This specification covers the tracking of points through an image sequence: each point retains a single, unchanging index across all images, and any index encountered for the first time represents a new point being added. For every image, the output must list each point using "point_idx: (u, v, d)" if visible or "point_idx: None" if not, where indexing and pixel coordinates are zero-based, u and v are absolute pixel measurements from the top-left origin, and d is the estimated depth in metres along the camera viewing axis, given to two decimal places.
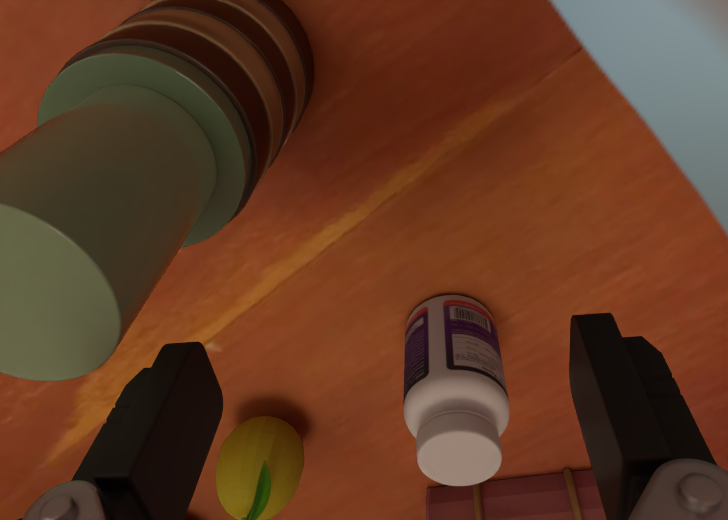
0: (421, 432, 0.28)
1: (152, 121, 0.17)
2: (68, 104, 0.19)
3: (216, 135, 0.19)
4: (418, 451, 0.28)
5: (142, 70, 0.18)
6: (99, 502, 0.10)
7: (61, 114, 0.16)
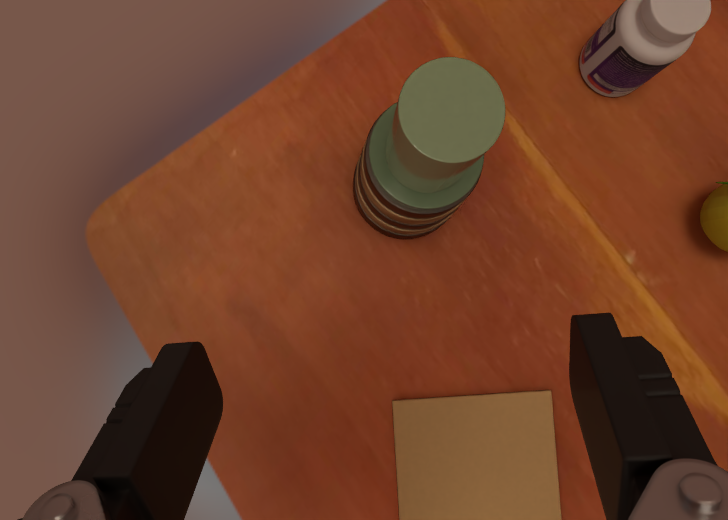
0: (659, 35, 0.39)
1: None
2: (393, 180, 0.35)
3: None
4: (672, 32, 0.38)
5: (378, 134, 0.35)
6: (99, 502, 0.10)
7: (389, 148, 0.33)
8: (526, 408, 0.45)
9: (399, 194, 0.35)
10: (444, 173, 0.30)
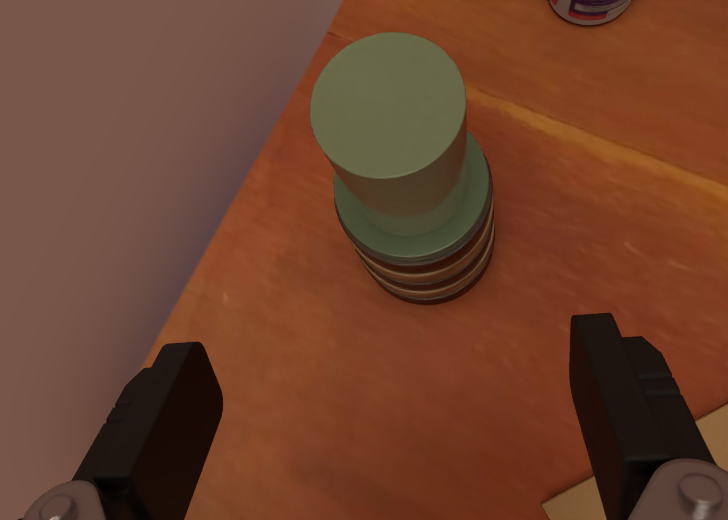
0: None
1: None
2: (385, 236, 0.26)
3: None
4: None
5: (342, 192, 0.27)
6: (99, 502, 0.10)
7: (353, 199, 0.24)
8: (721, 436, 0.32)
9: (401, 249, 0.26)
10: (427, 191, 0.20)
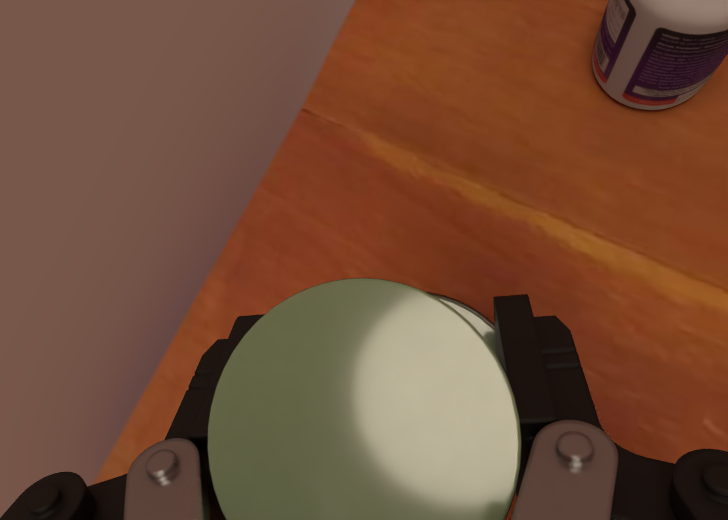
0: None
1: None
2: None
3: None
4: None
5: None
6: (201, 458, 0.10)
7: None
8: None
9: None
10: None
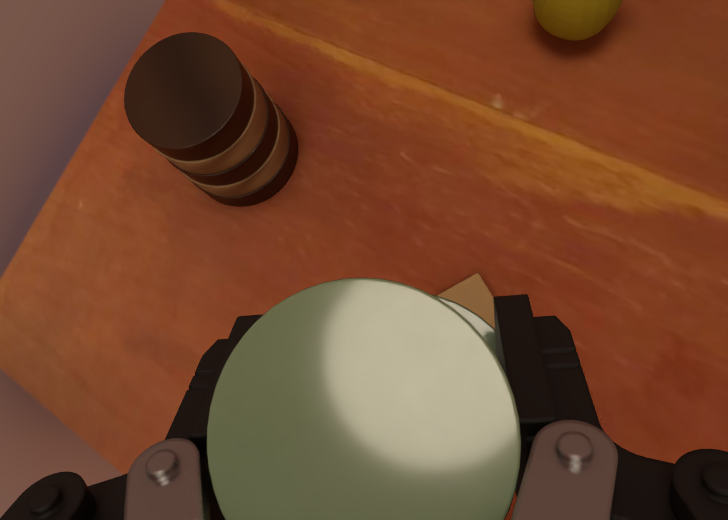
0: None
1: None
2: None
3: None
4: None
5: None
6: (201, 457, 0.10)
7: None
8: (460, 303, 0.39)
9: None
10: None
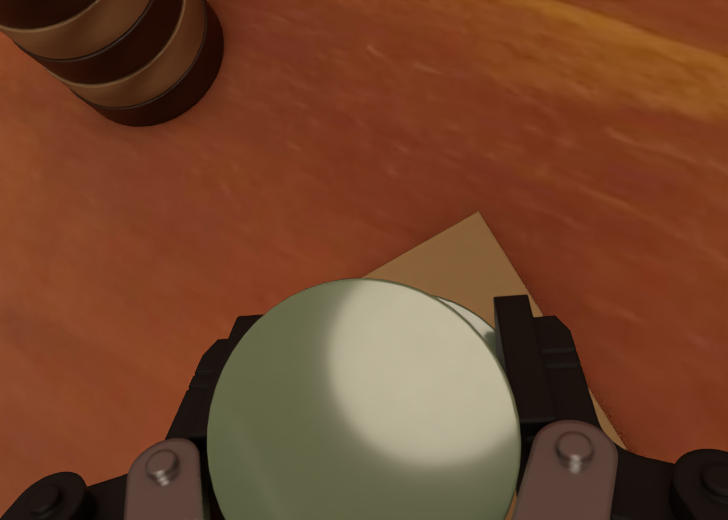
0: None
1: None
2: None
3: None
4: None
5: None
6: (201, 458, 0.10)
7: None
8: (452, 257, 0.26)
9: None
10: None
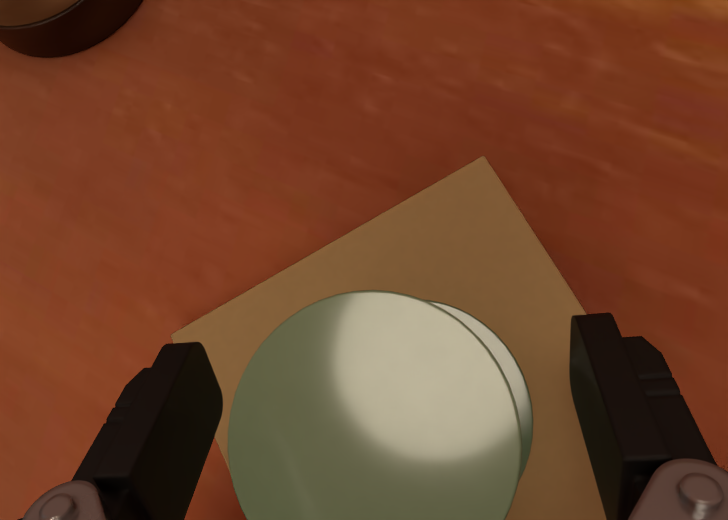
0: None
1: None
2: None
3: None
4: None
5: None
6: (99, 502, 0.10)
7: None
8: (448, 215, 0.19)
9: None
10: None
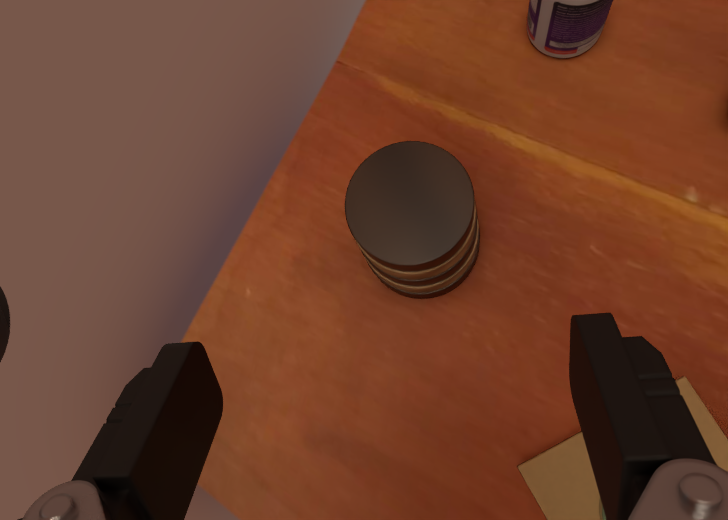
0: None
1: None
2: None
3: None
4: None
5: None
6: (99, 502, 0.10)
7: None
8: None
9: None
10: None
